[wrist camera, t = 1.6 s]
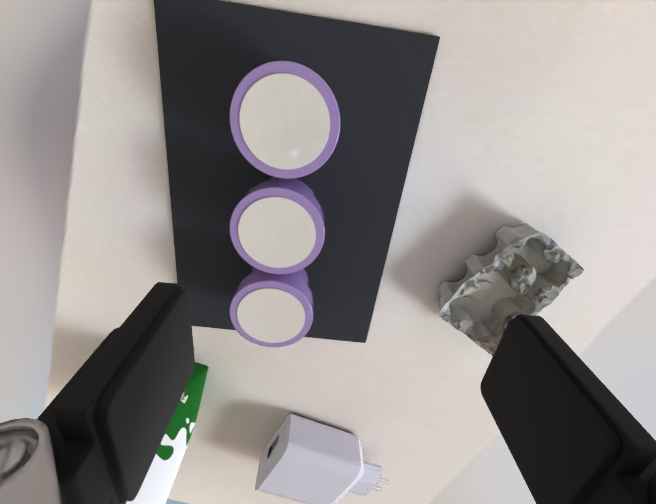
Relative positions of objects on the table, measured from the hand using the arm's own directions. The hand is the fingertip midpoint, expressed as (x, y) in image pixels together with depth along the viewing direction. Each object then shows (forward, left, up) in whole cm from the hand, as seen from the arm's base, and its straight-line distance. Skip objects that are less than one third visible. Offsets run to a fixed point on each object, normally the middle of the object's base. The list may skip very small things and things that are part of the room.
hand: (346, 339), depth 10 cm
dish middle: (+3, -3, -18) cm, 18 cm away
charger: (+34, +5, -18) cm, 39 cm away
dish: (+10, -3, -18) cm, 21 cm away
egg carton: (+7, +16, -18) cm, 25 cm away
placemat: (+3, -3, -18) cm, 19 cm away
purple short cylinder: (-4, -3, -18) cm, 19 cm away
